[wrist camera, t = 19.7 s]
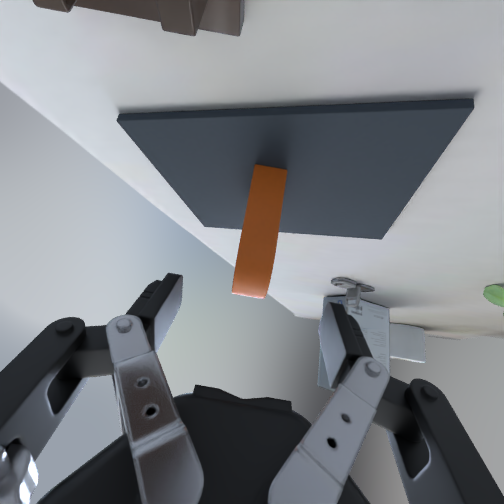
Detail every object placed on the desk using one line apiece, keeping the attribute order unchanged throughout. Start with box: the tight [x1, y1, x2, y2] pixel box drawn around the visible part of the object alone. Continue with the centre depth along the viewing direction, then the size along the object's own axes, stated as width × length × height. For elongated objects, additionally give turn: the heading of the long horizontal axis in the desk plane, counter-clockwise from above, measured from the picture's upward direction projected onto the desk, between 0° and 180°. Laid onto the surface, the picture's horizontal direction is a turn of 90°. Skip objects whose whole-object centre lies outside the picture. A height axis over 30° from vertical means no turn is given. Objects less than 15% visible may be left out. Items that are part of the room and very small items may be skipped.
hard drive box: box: [317, 296, 390, 392], centre depth 60 cm, size 16×8×20 cm, turn 59°
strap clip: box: [331, 278, 374, 307], centre depth 47 cm, size 8×3×4 cm, turn 63°
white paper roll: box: [390, 323, 426, 363], centre depth 89 cm, size 16×15×11 cm
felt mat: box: [117, 99, 474, 239], centre depth 22 cm, size 20×16×1 cm
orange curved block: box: [232, 164, 287, 299], centre depth 20 cm, size 6×2×9 cm, turn 176°
